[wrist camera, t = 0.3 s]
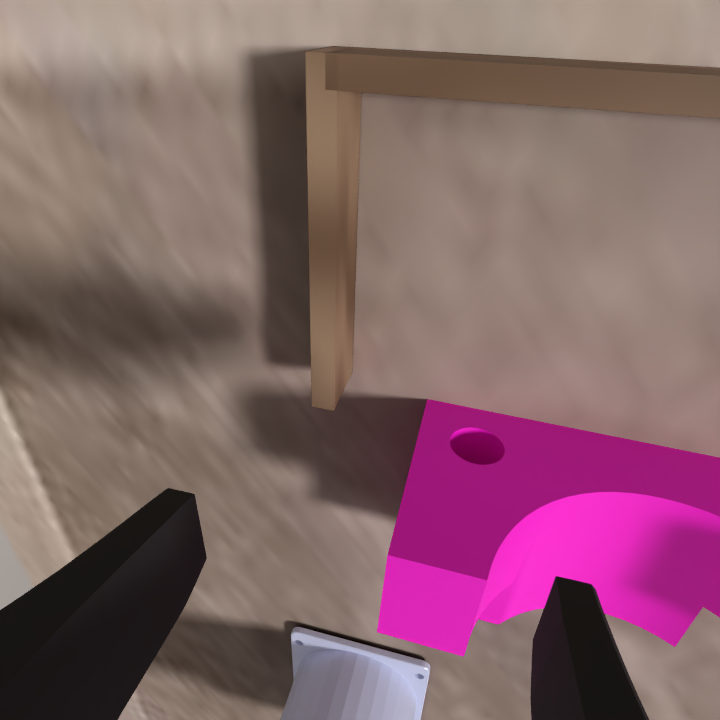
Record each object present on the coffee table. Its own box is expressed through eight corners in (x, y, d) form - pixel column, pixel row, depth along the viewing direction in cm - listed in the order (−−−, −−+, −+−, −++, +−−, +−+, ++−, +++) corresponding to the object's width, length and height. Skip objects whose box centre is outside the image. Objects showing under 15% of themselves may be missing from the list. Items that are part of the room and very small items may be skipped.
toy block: (410, 507, 24) (371, 673, 18) (428, 395, 21) (387, 554, 15) (780, 595, 22) (880, 824, 16) (870, 484, 18) (1045, 722, 12)
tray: (1037, 490, 17) (1109, 557, 15) (332, 368, 21) (311, 406, 19) (1427, 107, 11) (1636, 129, 9) (335, 46, 15) (305, 51, 13)
